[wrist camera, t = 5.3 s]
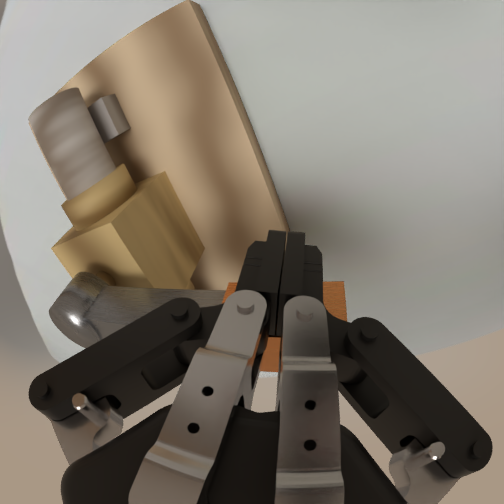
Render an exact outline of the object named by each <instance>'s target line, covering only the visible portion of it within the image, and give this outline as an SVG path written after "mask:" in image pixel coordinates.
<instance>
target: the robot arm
mask: <svg viewBox="0 0 504 504" xmlns="http://www.w3.org/2000/svg"><path fill="white" fill-rule="evenodd" d="M285 247H286V250H285ZM322 272H323V266H322V253H321V252H320V250H319V249H318V247H317V246H311V245H305V233H302V232H290V231H288V234H287V242H286V231H278V230H269V231H268V236H267V240H266V241H254V242H253V243H252V244H251V245H250V246H249V247H248V249H247V253H246V256H245V259H244V263H243V266H242V269H241V273H240V276H239V279H238V283H237V286H236V289H235V292H234V293H232V294H231V295H230V296H229V297H228V298H227V299H226V301H225V302H224V303H222V304H220V305H216V306H209V307H201V308H200V307H199V305H198V303H197V302H196V301H194V300H192V299H190V298H185V297H181V298H175V299H172V300H170V301H168V302H167V303H165V304H163V305H161V306H160V307H158V308H156V309H154V310H153V311H151V312H149V313H147V314H146V315H144V316H142V317H140V318H139V319H137V320H135V321H133V322H132V323H130V324H128V325H126V326H125V327H123V328H121V329H119V330H118V331H116V332H114V333H112V334H111V335H109V336H107V337H105V338H103V339H102V340H100V341H98V342H96V343H95V344H93V345H91V346H89V347H88V348H86V349H84V350H82V351H81V352H79V353H77V354H75V355H74V356H72V357H70V358H68V359H67V360H65V361H63V362H61V363H60V364H58V365H56V366H54V367H53V368H51V369H49V370H47V371H46V372H44V373H42V374H40V375H39V376H37V377H36V378H35V379H34V380H33V381H32V383H31V385H30V388H29V399H30V402H31V404H32V405H33V406H34V407H35V408H36V409H37V410H39V411H40V412H41V413H43V414H44V415H45V416H46V417H47V418H48V419H49V420H50V421H51V423H52V425H53V428H54V431H55V433H56V436H57V438H58V441H59V443H60V445H61V448H62V450H63V452H64V454H65V456H66V459H67V461H68V463H69V465H70V466H69V467H68V468H67V469H66V471H65V473H64V475H63V477H62V481H61V495H62V500H63V504H438V502H439V501H440V500H441V499H442V498H443V497H444V496H445V495H446V494H447V493H448V491H449V490H450V489H451V488H452V487H453V486H454V485H455V483H456V482H457V481H458V480H459V479H460V478H461V477H463V476H466V475H469V474H471V473H474V472H476V471H478V470H480V469H482V468H484V467H485V465H486V464H487V463H488V462H489V460H490V458H491V455H492V441H491V438H490V436H489V435H488V434H487V433H486V431H485V430H484V429H483V428H482V427H481V426H480V425H479V424H478V422H477V421H476V420H475V419H474V418H473V417H472V416H471V415H470V414H469V412H468V411H467V410H466V409H465V408H464V407H463V406H462V405H461V404H460V403H459V402H458V401H457V400H456V398H455V397H454V396H453V395H452V394H451V393H450V392H449V391H448V390H447V389H446V388H445V387H444V386H443V385H442V384H441V383H440V382H439V381H438V380H437V378H436V377H435V376H434V375H433V374H432V373H431V372H430V371H429V370H428V369H427V368H426V367H425V366H424V365H423V364H422V363H421V362H420V361H419V360H418V359H417V358H416V357H415V356H414V355H413V354H412V353H411V352H410V351H409V350H408V349H407V348H406V347H405V346H404V345H403V344H402V343H401V342H400V341H399V340H398V339H397V338H396V337H395V336H394V335H393V334H392V333H391V332H390V331H389V330H388V329H387V328H386V327H385V326H384V325H383V324H382V323H381V322H379V321H378V320H375V319H373V318H369V317H362V318H358V319H356V320H354V321H353V322H352V323H349V322H347V321H344V320H341V319H338V318H336V317H335V316H333V315H332V314H330V313H329V312H328V310H327V309H326V308H325V306H324V302H323V273H322ZM277 316H278V321H277ZM276 322H277V333H276V336H281V340H280V349H279V362H278V381H277V398H276V408H275V411H273V412H264V413H257V412H254V411H251V406H252V399H253V394H254V390H255V387H256V384H257V380H258V376H259V373H260V369H261V366H262V362H263V358H264V355H265V349H266V347H267V343H268V337H269V335H274V336H275V329H276ZM181 383H182V384H181ZM180 384H181V386H180V388H179V391H178V393H177V395H176V398H175V400H174V402H173V404H171V405H168V406H166V407H163V408H162V409H160V410H158V411H156V412H155V413H153V414H152V415H150V416H149V417H147V418H146V419H144V420H143V421H141V422H140V423H138V424H137V425H135V426H133V427H132V428H130V429H129V430H127V431H125V432H124V433H122V434H121V432H122V428H123V419H124V418H126V417H127V416H129V415H131V414H133V413H134V412H136V411H138V410H139V409H141V408H143V407H144V406H146V405H148V404H149V403H151V402H153V401H154V400H156V399H157V398H159V397H161V396H162V395H164V394H165V393H167V392H168V391H170V390H172V389H173V388H175V387H176V386H178V385H180ZM338 390H339V391H340V393H341V394H342V395H343V396H344V397H345V399H346V400H347V401H348V402H349V404H350V405H351V406H352V407H353V408H354V410H356V412H357V413H358V414H359V415H360V417H361V418H362V419H363V420H364V421H365V423H366V424H367V425H368V426H369V427H370V429H371V430H372V431H373V432H374V433H375V434H376V436H377V437H378V438H379V439H380V440H381V441H382V442H383V444H384V445H385V446H386V447H387V448H388V450H389V451H390V452H391V453H392V454H393V455H392V457H391V460H390V462H389V471H390V474H391V476H392V478H393V479H394V482H395V486H394V485H393V484H392V482H391V481H390V480H389V478H388V477H387V476H386V475H385V474H384V472H383V471H382V470H381V469H380V467H379V466H378V464H377V463H376V462H375V461H374V459H373V458H372V457H371V455H370V454H369V453H368V452H367V450H366V449H365V448H364V447H363V445H362V444H361V442H360V441H359V440H358V438H357V437H356V436H355V435H354V434H353V433H352V432H351V431H350V430H348V429H347V428H346V427H344V426H343V425H340V414H339V395H338ZM120 434H121V435H120ZM118 435H119V436H118ZM115 437H116V438H115Z"/></svg>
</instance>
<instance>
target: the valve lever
mask: <svg viewBox="0 0 504 504" xmlns="http://www.w3.org/2000/svg"><path fill="white" fill-rule="evenodd" d="M237 283H238V282H229V283H228V286H227V289H226V290H189V289H160V288H137V287H118V286H109V285H108V284H107V283H106V282H105V281H104V280H102V279H101V278H99V277H98V276H96V275H94V274H92V273H89V272H78V273H77V274H76V275H75V276H74V278H73V279H72V280H71V281H70V283H69V284H68V285H67V286H66V288H65V289H64V290H63V292H62V293H61V294H60V296H59V297H58V298H57V300H56V301H55V302H54V304H53V305H52V306H51V308H50V309H49V315H50V317H51V319H52V321H53V323H54V324H55V325H56V327H57V328H58V329H59V330H60V331H61V332H62V333H63V334H64V335H65V336H67V337H68V338H69V339H70V340H72V341H73V342H75V343H76V344H78V345H80V346H82V347H84V348H88V347H89V346H91V345H93V344H95V343H96V342H98V341H100V340H102V339H103V338H105V337H107V336H109V335H111V334H112V333H114V332H116V331H118V330H119V329H121V328H123V327H125V326H126V325H128V324H130V323H132V322H133V321H135V320H137V319H139V318H140V317H142V316H144V315H146V314H147V313H149V312H151V311H153V310H154V309H156V308H158V307H160V306H161V305H163V304H165V303H167V302H168V301H170V300H172V299H175V298H181V297H185V298H190V299H192V300H194V301H196V302H197V303H198V305H199V307H200V308H201V307H209V306H216V305H220V304H222V303H224V302H225V301H226V299H227V298H228V297H229V296H230V295H231V294H232V293H234V292H235V289H236V286H237ZM323 302H324V306H325V308H326V309H327V310H328V312H329V313H330V314H332V315H333V316H335V317H336V318H338V319H341V320H344V321H347V312H346V300H345V289H344V281H336V282H323ZM277 321H278V316H277ZM276 333H277V322H276V329H275V336H274V335H269V337H268V343H267V347H266V349H265V355H264V358H263V362H262V366H261V369H260V371H266V372H278V362H279V349H280V340H281V336H276Z"/></svg>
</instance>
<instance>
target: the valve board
mask: <svg viewBox="0 0 504 504" xmlns="http://www.w3.org/2000/svg"><path fill="white" fill-rule="evenodd" d="M28 120H29V125H30V127H31V129H32V132H33V134H34V136H35V139H36V141H37V143H38V145H39V147H40V149H41V151H42V154H43V156H44V158H45V160H46V162H47V164H48V166H49V168H50V170H51V172H52V174H53V175H54V177H55V179H56V181H57V183H58V185H59V187H60V188H61V190H62V192H63V194H64V196H65V197H66V199H67V200H66V201H65V202H64V203H63V204H62V205H61V206H62V208H63V210H64V211H65V213H66V215H67V216H68V218H69V220H70V221H71V223H72V224H73V227H72V228H71V229H70V230H69V231H68V232H67V233H66V234H65V235H64V236H63V237H62V238H61V239H60V240H59V241H58V242H57V243H56V244H55V245H54V246H53V247H52V248H51V249H52V250H53V252H54V253H55V255H56V256H57V258H58V259H59V260H60V262H61V263H62V265H63V266H64V267H65V269H66V270H67V272H68V273H69V274H70V276H71V277H72V278H74V276H75V275H76V274H77V273H78V272H89V273H92V274H94V275H96V276H98V277H99V278H101V279H102V280H104V281H105V282H106V283H107V284H108V285H109V286H118V287H137V288H160V289H189V290H226V289H227V286H228V283H229V282H238V279H239V276H240V273H241V269H242V266H243V263H244V259H245V256H246V253H247V249H248V247H249V246H250V245H251V244H252V243H253V242H254V241H266V240H267V236H268V231H269V230H278V231H286V242H287V234H288V231H290V229H289V226H288V224H287V221H286V218H285V215H284V212H283V209H282V206H281V204H280V201H279V198H278V195H277V192H276V189H275V187H274V184H273V181H272V178H271V176H270V173H269V170H268V168H267V165H266V162H265V160H264V157H263V154H262V152H261V149H260V146H259V144H258V141H257V139H256V136H255V133H254V131H253V128H252V126H251V123H250V121H249V118H248V116H247V113H246V111H245V108H244V106H243V103H242V101H241V98H240V96H239V93H238V91H237V88H236V86H235V84H234V81H233V79H232V76H231V74H230V72H229V69H228V67H227V65H226V62H225V60H224V58H223V55H222V53H221V51H220V49H219V46H218V44H217V42H216V40H215V37H214V35H213V33H212V31H211V28H210V26H209V24H208V22H207V20H206V18H205V15H204V13H203V11H202V9H201V7H200V5H199V4H197V3H195V2H193V1H191V0H186V1H184V2H182V3H180V4H178V5H176V6H174V7H172V8H170V9H168V10H167V11H165V12H163V13H161V14H160V15H158V16H156V17H154V18H153V19H151V20H149V21H148V22H146V23H144V24H143V25H141V26H140V27H138V28H136V29H135V30H133V31H132V32H130V33H129V34H127V35H126V36H124V37H123V38H122V39H120V40H119V41H117V42H116V43H115V44H113V45H112V46H110V47H109V48H108V49H106V50H105V51H104V52H103V53H101V54H100V55H99V56H97V57H96V58H95V59H94V60H92V61H91V62H90V63H89V64H88V65H86V66H85V67H84V68H83V69H82V70H81V71H79V72H78V73H77V74H76V75H75V76H74V77H73V78H72V79H70V80H69V81H68V82H67V83H66V84H65V85H64V86H63V87H62V88H61V89H60V90H59V91H58V92H57V93H56V94H55V95H54V96H52V97H51V98H49V99H48V100H46V101H45V102H43V103H42V104H41V105H40V106H38V107H37V108H36V109H35V110H34V111H33V112H32V114H31V115H30V116H29V119H28ZM285 250H286V247H285Z"/></svg>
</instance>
